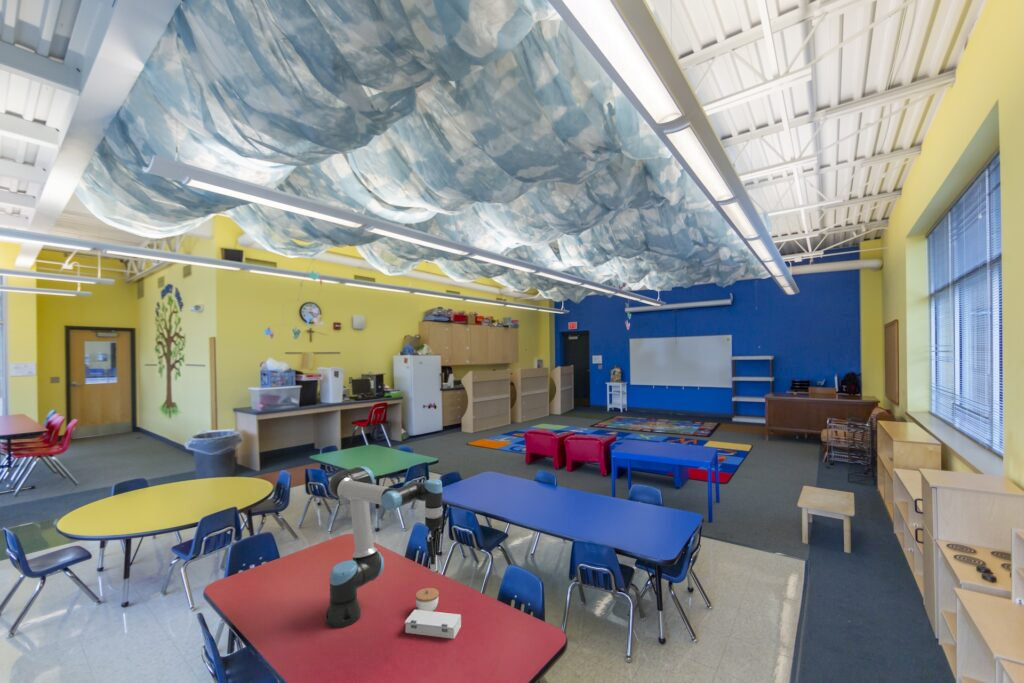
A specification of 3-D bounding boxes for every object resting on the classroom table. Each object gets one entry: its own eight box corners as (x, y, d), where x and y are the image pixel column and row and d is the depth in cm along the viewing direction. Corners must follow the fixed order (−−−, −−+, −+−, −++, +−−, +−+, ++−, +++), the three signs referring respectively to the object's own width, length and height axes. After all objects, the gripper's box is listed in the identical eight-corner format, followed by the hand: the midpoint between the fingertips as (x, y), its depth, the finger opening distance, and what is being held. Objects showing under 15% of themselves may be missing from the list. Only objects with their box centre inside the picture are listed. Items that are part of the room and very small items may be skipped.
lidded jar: (433, 618, 197) (433, 596, 197) (411, 615, 199) (411, 594, 199) (442, 605, 207) (442, 585, 208) (421, 603, 209) (421, 583, 210)
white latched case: (404, 633, 185) (404, 623, 186) (414, 620, 195) (414, 611, 195) (453, 639, 181) (453, 629, 181) (461, 626, 190) (461, 616, 190)
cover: (404, 623, 185) (404, 620, 185) (414, 611, 195) (414, 608, 195) (453, 629, 181) (453, 626, 181) (461, 616, 190) (461, 613, 190)
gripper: (435, 521, 185) (436, 578, 183) (447, 511, 197) (447, 564, 196) (419, 520, 186) (419, 576, 185) (431, 510, 199) (431, 563, 198)
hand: (433, 570), depth 191 cm, fingers closed
